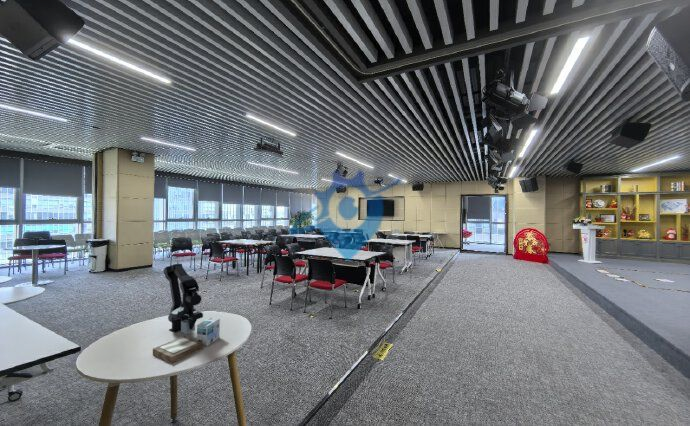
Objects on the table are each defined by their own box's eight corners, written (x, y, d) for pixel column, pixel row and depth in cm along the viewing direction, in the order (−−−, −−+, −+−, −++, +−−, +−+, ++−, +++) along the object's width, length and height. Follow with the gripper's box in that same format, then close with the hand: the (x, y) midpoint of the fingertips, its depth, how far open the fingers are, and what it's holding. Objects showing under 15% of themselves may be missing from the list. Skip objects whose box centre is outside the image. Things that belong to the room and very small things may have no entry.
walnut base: (152, 354, 138) (152, 347, 138) (184, 341, 153) (184, 335, 153) (171, 363, 131) (171, 356, 131) (202, 348, 145) (202, 342, 145)
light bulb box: (207, 346, 148) (207, 326, 148) (196, 344, 149) (196, 324, 149) (220, 337, 158) (220, 318, 158) (209, 336, 160) (209, 317, 159)
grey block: (181, 331, 156) (181, 321, 156) (189, 328, 161) (189, 318, 161) (186, 333, 154) (186, 323, 154) (194, 330, 158) (195, 320, 158)
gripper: (163, 302, 154) (163, 330, 155) (184, 308, 146) (184, 338, 146) (183, 297, 164) (183, 323, 164) (203, 302, 156) (203, 330, 156)
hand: (188, 328), depth 157 cm, fingers closed on grey block, 5 cm apart
